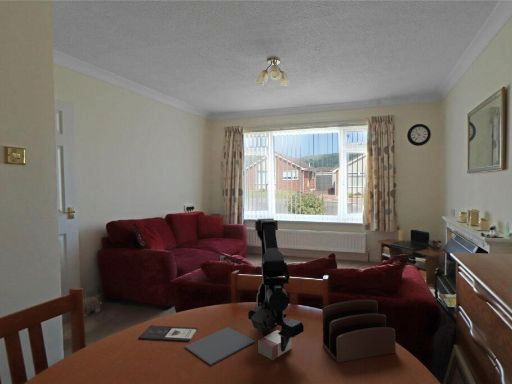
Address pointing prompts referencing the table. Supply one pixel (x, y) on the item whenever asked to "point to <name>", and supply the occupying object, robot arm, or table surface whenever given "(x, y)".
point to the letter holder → (356, 331)
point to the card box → (272, 345)
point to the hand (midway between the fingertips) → (274, 347)
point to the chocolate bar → (168, 333)
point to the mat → (219, 345)
